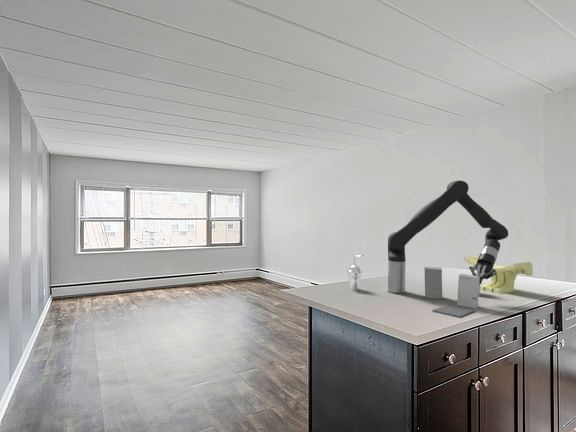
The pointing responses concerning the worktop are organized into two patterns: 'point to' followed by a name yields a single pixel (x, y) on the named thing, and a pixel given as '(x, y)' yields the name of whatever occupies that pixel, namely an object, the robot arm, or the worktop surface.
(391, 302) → the worktop surface
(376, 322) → the worktop surface
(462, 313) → the mat
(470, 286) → the skincare box
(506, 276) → the slatted curved stool
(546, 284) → the worktop surface
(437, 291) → the skincare box
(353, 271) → the cup with straw
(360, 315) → the worktop surface
